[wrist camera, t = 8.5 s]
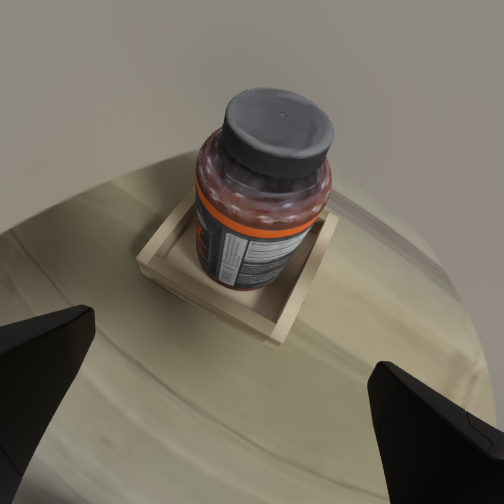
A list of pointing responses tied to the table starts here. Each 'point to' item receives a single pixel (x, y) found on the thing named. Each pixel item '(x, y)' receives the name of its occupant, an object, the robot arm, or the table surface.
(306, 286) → the tray
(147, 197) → the table surface
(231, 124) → the supplement bottle
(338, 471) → the table surface
